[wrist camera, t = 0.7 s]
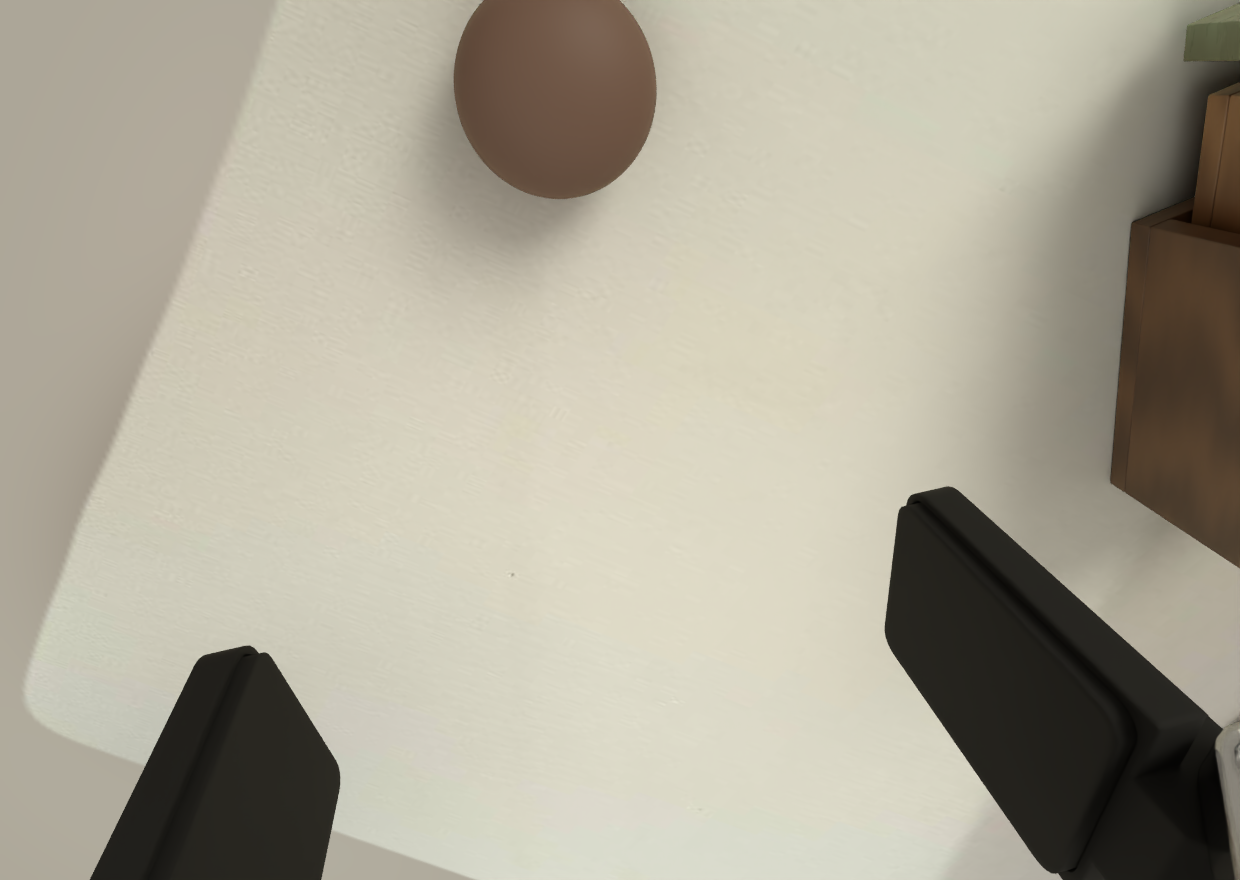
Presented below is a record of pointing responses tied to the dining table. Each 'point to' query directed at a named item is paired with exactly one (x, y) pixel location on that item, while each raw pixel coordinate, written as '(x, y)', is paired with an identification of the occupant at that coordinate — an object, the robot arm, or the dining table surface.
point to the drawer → (1218, 124)
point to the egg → (555, 92)
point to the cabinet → (1182, 378)
